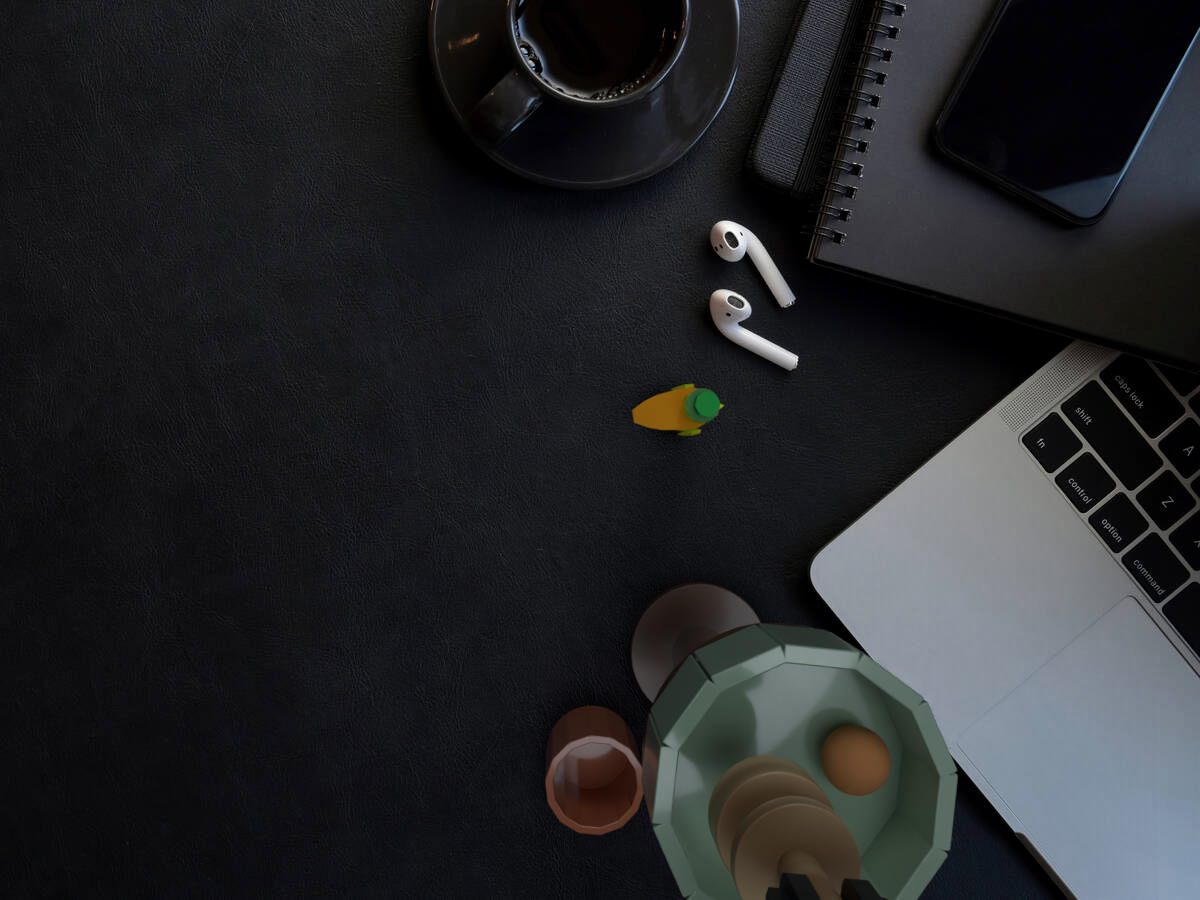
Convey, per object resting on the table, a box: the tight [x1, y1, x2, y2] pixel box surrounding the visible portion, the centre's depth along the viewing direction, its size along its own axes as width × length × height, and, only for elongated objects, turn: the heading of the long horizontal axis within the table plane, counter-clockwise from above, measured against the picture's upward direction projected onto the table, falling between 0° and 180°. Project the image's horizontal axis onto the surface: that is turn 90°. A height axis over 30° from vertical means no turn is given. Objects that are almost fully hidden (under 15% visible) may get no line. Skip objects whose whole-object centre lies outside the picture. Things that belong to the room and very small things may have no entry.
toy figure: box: [632, 383, 725, 437], centre depth 63 cm, size 7×4×12 cm, turn 98°
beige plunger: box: [708, 755, 861, 900], centre depth 31 cm, size 5×5×12 cm
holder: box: [544, 705, 644, 836], centre depth 64 cm, size 6×6×8 cm
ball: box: [821, 725, 891, 796], centre depth 41 cm, size 3×3×3 cm
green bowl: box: [641, 622, 959, 900], centre depth 41 cm, size 13×13×5 cm
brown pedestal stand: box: [629, 581, 815, 766], centre depth 56 cm, size 13×13×25 cm
